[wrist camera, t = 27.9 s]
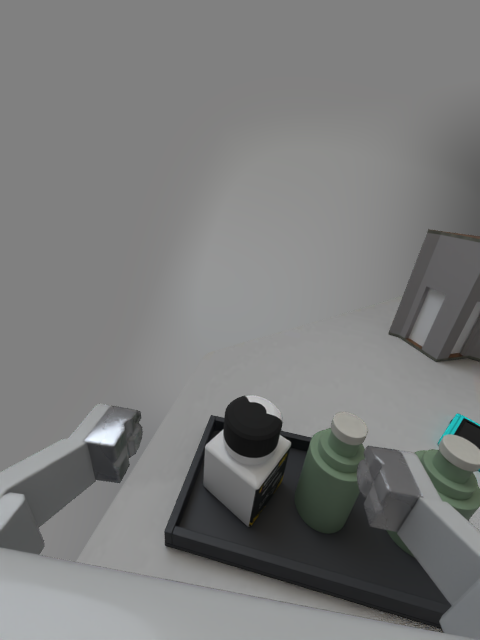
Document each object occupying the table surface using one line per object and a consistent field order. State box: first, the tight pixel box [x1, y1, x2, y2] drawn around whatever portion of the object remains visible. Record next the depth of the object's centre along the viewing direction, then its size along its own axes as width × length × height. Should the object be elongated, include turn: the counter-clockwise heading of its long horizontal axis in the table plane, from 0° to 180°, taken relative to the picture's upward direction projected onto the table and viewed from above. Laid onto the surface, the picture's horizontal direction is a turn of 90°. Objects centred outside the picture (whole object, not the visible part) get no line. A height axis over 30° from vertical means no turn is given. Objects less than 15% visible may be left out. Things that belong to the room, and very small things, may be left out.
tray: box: [165, 415, 469, 629], centre depth 32 cm, size 32×16×2 cm, turn 79°
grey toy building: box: [389, 230, 480, 362], centre depth 63 cm, size 21×10×28 cm, turn 59°
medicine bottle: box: [203, 395, 291, 527], centre depth 31 cm, size 7×7×12 cm
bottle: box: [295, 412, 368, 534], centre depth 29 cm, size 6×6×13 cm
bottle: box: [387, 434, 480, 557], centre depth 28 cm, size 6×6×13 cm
